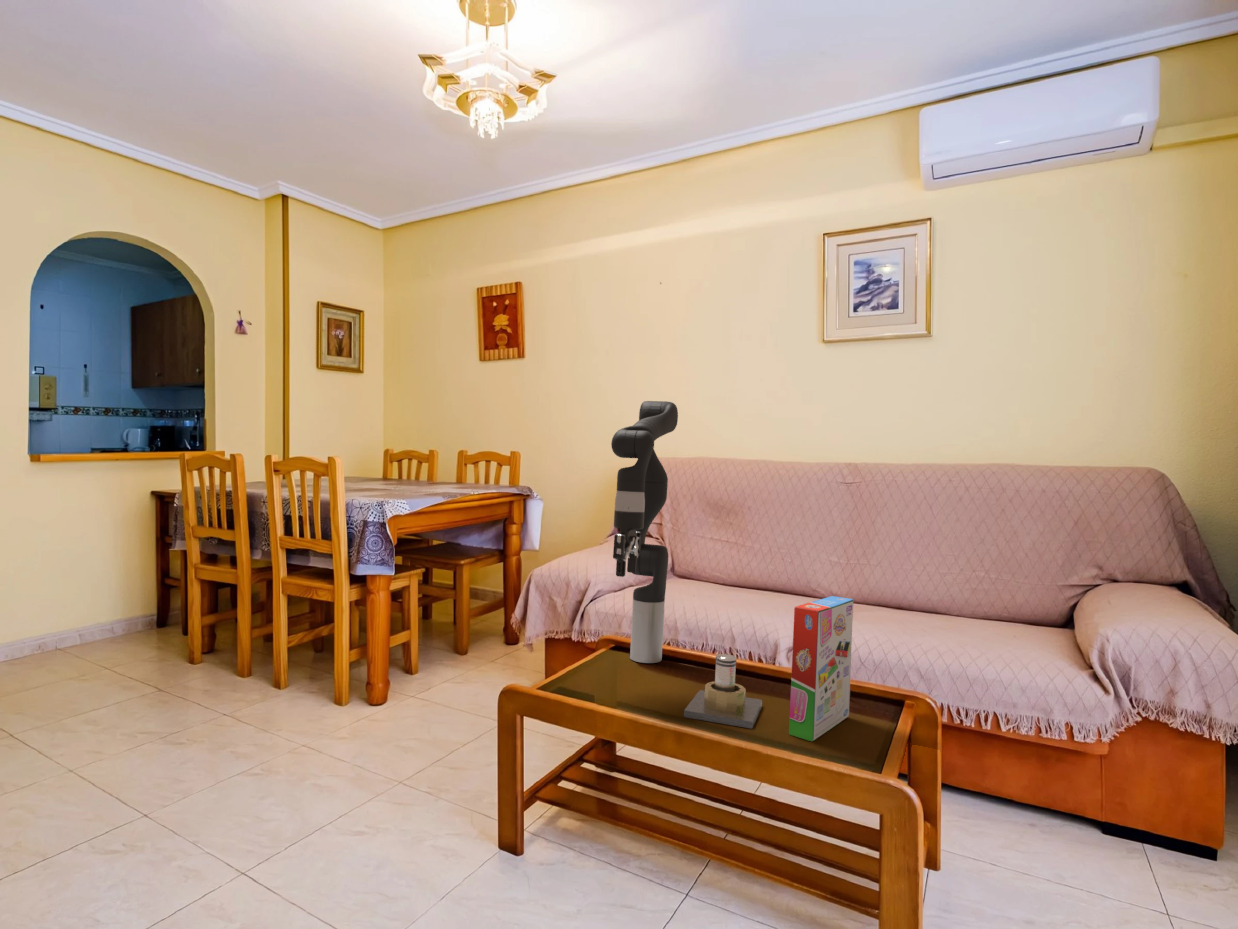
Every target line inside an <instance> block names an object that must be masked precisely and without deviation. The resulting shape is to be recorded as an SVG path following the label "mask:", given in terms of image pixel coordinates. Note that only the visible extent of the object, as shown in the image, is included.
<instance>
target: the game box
mask: <svg viewBox="0 0 1238 929" xmlns="http://www.w3.org/2000/svg"><path fill="white" fill-rule="evenodd" d="M793 611H794V612H793V613H794V614H793V631H792V632H793V636H792V655H791V656H792V657H791V676H790V680H791V682H790V696H789V697H790V699H789V701H790V702H789V720H788V721H789V722H788V723H789V724H788V735H789V736H792V737H796V738H799V739H802V740H805V741H808V742H814V741H815V740H817V739H818V738H820V737H821V736H823V735H825V733H827V732H828V731H830V730H831V729H833V728H834V727H837V725H839V724H840V723H841V722H843V721H844V720H846V719H848V718H849V717H850V700H851V699H850V697H851V673H852V672H851V668H852V645H853V644H852V641H853V640H852V639H853V620H854V619H853V618H854V599H853V598H849V597H848V598H847V597H843V596H842V597H841V596H836V595H835V596H833V595H831V596H828V597H823V598H821V599H817V600H813V601H810V602H806V603H803V604H800V605H796V606H794V610H793Z"/></svg>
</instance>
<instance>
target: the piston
mask: <svg viewBox="0 0 1238 929" xmlns="http://www.w3.org/2000/svg"><path fill="white" fill-rule="evenodd" d="M736 668H737V656H735V655H733V654H727V653H719V654H716V656H715V672H714V681H715V690H718V691H724V692H734V691H735V683H736Z"/></svg>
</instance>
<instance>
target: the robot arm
mask: <svg viewBox="0 0 1238 929" xmlns="http://www.w3.org/2000/svg"><path fill="white" fill-rule="evenodd" d="M678 419H679V413H678V408H677V405H676V404H675V403H674V402H671V401H663V400H662V401H661V400H660V401H657V400H656V401H655V400H654V401H653V400H646V401H643V402H642V403H641V404H640V408H639V412H638V420H637V421H636V422H635V423H634V424H633V425H629V426H625V427H623V428H620V429H618V430H617V431H616V432H615V433H614V434H613V436H612V438H611V443H610V444H611V449H612V452H613V454H614V455H616V457H618V458H622V459H637V460H636V462H635V464H634V465H632V466H625V467H621V468H619V469H618V471H617V476H616V478H617V479H616V492H615V499H614V500H615V501H614V511H613V512H614V513H613V514H614V516H613V527H614V528H615V529H619V530H620V531H619V533H615V534H614V536H613V537H614V538H613V539H614V540H613V552H612V557H613V559H615V561H616V566H615V567H616V568H615V575H616V577H620V578H623V577H625V576H626V573H631V574H633V575H634V576H643V577H651V578H652V582H651V583H649V584H646V585H643V586H640V587H637V588H634V590H633V593H632V612H631V614H632V616H631V631H630V647H629V649H630V651H629V659H630V660H631V661H634V662H637V663H640V664H641V663H642V664H655V663H660V662H661V661H662V658H663V640H664V639H663V638H664V622H665V621H664V620H665V600H666V589H667V587H666V586H667V578H668V577H667V576H668V575H667V574H668V569H669V566H668V565H669V551H668V548H667V547H666V546H665V545H660V544H653V543H652V544H650V543H646V537H647V532H648V530H649V528H650V526H651V524H652V522H653V521H654V520H655V519H656V517H657V516H658V514H659V513H660V512H661V510H662V508H663V507H664V505H665V504H666V502H667V498H668V497H667V496H668V484H669V482H668V480H669V478H668V474H667V472H666V470H665V467H664V466H663V464H662V463H661V461H660V459H659V457H658V456H657V454H656V452H655V449H654V448H655V441H656V440H657V439H659V438H661V437H663V436H665V435H667V434H669V433H672V432H674V431H675V430H676V428H677V425H678Z"/></svg>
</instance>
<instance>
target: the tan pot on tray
mask: <svg viewBox="0 0 1238 929" xmlns="http://www.w3.org/2000/svg"><path fill="white" fill-rule="evenodd" d="M746 691H747V690H746V687H744V686H743V685H741V684H739V683H736V682H735V691H734V692H724V691H718V690H715V680H714V681H713V680H712V681H710V682H707V683H706V684H705V685H704V690H703V689H700V690H699V691H698V692H697V693H696V694H695V696H694V697H693V698H692V700H691V701H690V702H689V703H688V705H687V706H686V707H685V708H684V710H683V718H687V719H693V720H699V721H705V722H710V723H716V724H722V725H726V726H732V727H733V726H734V727H739V728H745V729H751V730H753V728H754V725H755V723H756V721H757V718H758V717H759V715H760V712H761V710H762V707H763V699H761V698H760V699H759V698H752V697H747V696H746Z"/></svg>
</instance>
